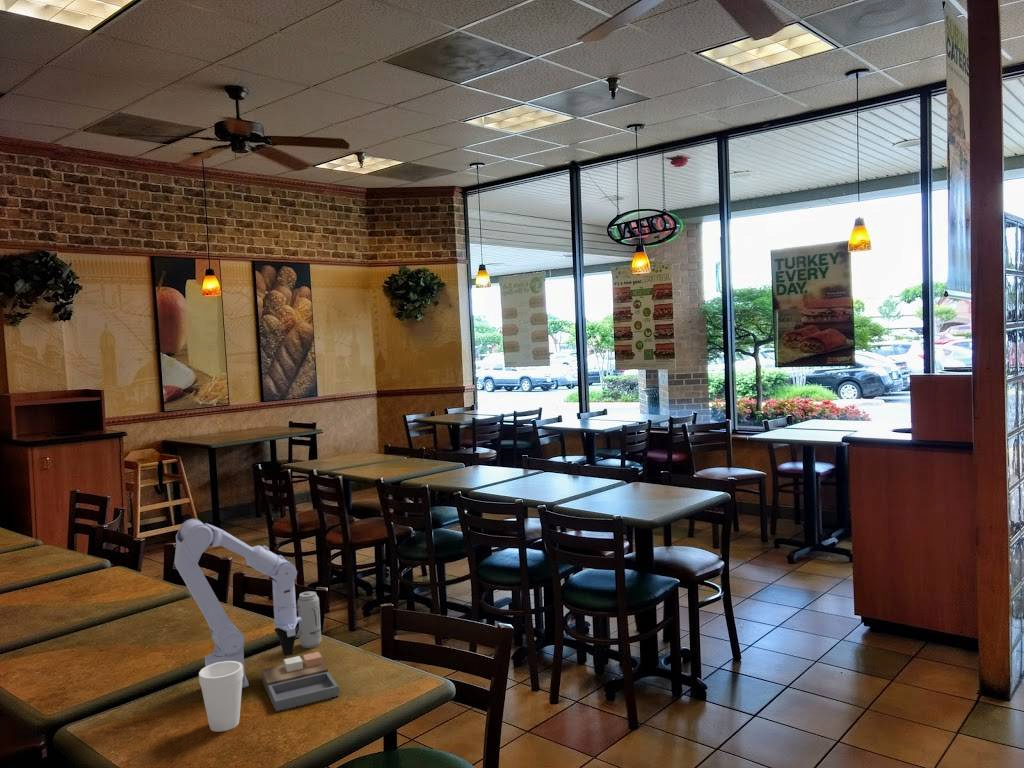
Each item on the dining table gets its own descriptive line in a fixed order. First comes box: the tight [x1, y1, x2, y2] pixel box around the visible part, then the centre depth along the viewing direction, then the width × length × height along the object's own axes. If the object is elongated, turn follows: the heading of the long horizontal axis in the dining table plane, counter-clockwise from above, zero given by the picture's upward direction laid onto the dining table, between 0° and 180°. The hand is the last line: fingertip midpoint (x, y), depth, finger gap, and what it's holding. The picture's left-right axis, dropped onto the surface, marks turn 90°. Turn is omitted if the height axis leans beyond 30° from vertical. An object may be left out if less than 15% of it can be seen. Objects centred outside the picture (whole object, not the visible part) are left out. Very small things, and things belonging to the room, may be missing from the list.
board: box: [261, 659, 329, 696], centre depth 199 cm, size 15×10×3 cm, turn 117°
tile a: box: [283, 655, 303, 672], centre depth 200 cm, size 4×4×2 cm
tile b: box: [302, 651, 323, 668], centre depth 202 cm, size 4×4×2 cm
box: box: [267, 671, 340, 712], centre depth 190 cm, size 15×10×2 cm
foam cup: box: [198, 661, 244, 733], centre depth 176 cm, size 10×9×13 cm
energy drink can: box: [297, 590, 322, 649], centre depth 223 cm, size 6×6×15 cm
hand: (288, 654), depth 206 cm, fingers closed
